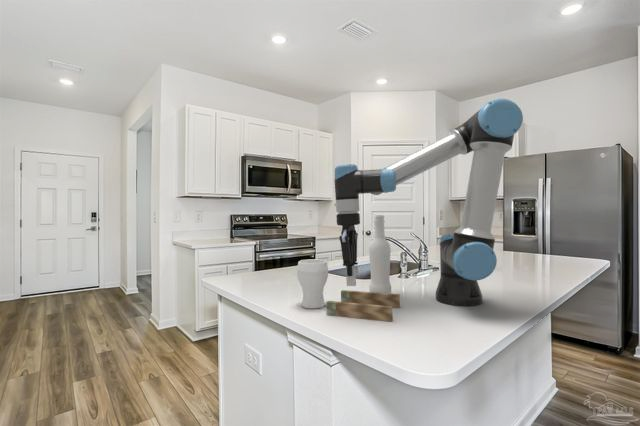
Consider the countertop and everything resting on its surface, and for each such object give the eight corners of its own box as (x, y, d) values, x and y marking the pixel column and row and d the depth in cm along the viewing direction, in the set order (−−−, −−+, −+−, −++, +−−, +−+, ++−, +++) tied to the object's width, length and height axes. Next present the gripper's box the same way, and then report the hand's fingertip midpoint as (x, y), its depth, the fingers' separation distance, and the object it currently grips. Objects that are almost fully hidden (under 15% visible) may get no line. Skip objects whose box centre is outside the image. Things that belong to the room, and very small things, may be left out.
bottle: (367, 297, 125) (365, 215, 124) (372, 292, 132) (371, 214, 132) (389, 299, 122) (388, 215, 121) (393, 293, 129) (392, 214, 129)
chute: (400, 306, 112) (399, 294, 112) (391, 321, 98) (391, 307, 98) (342, 301, 120) (342, 290, 120) (326, 314, 105) (326, 301, 105)
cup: (330, 301, 120) (330, 259, 120) (326, 310, 109) (325, 264, 109) (301, 300, 122) (300, 258, 121) (294, 309, 111) (293, 263, 111)
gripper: (342, 212, 118) (346, 280, 118) (330, 213, 106) (333, 289, 106) (364, 211, 115) (367, 281, 115) (353, 212, 103) (357, 290, 103)
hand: (351, 285), depth 110 cm, fingers closed
